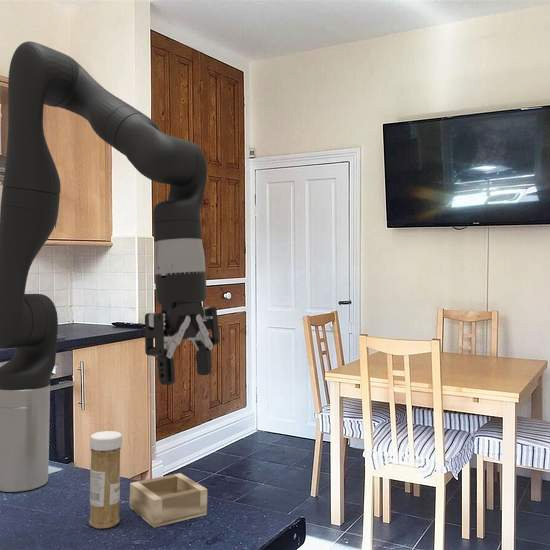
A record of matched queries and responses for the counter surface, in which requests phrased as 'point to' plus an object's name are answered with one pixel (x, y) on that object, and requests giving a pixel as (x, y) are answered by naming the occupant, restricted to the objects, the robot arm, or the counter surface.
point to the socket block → (168, 499)
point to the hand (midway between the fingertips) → (186, 379)
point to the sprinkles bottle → (105, 479)
